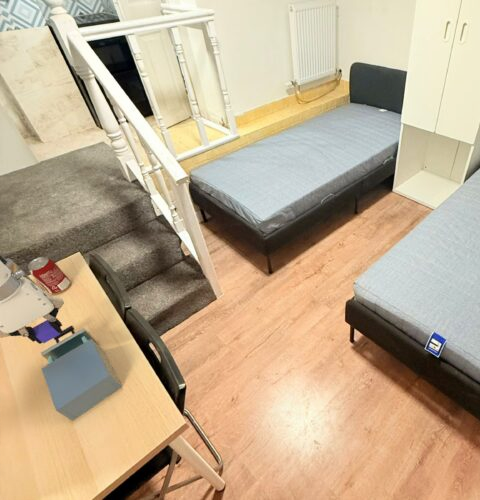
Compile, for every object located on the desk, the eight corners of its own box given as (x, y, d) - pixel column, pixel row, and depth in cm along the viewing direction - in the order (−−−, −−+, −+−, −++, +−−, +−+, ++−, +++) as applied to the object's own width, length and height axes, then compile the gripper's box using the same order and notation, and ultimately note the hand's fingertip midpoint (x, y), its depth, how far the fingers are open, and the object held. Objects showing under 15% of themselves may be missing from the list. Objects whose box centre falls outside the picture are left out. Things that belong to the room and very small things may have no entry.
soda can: (76, 283, 113) (55, 258, 105) (57, 297, 109) (34, 273, 101) (62, 277, 116) (41, 252, 107) (44, 291, 111) (20, 267, 103)
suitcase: (61, 383, 89) (41, 368, 82) (107, 354, 94) (91, 338, 88) (77, 423, 81) (55, 410, 75) (125, 390, 87) (109, 375, 80)
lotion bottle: (21, 295, 110) (-25, 253, 96) (41, 286, 113) (-1, 243, 99) (24, 306, 107) (-23, 263, 93) (44, 296, 110) (1, 254, 96)
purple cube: (40, 334, 82) (32, 327, 80) (56, 325, 84) (48, 318, 82) (43, 343, 80) (35, 337, 78) (60, 334, 82) (52, 327, 80)
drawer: (50, 349, 95) (35, 337, 90) (89, 327, 100) (77, 314, 95) (69, 398, 85) (53, 387, 80) (111, 370, 90) (99, 358, 85)
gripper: (36, 257, 75) (81, 305, 88) (-56, 299, 67) (7, 345, 80) (45, 275, 71) (90, 322, 84) (-52, 322, 63) (14, 367, 76)
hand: (49, 333), depth 82 cm, fingers closed on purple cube, 3 cm apart
